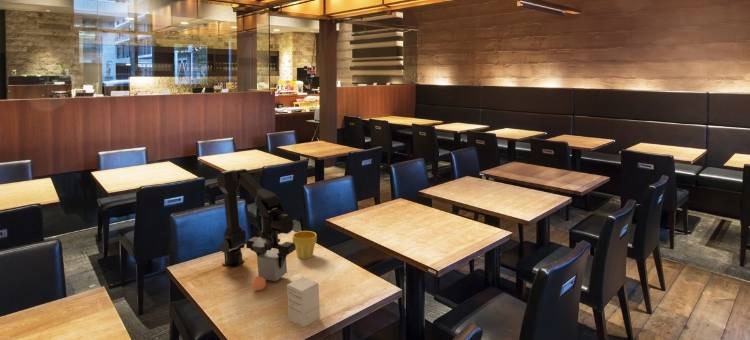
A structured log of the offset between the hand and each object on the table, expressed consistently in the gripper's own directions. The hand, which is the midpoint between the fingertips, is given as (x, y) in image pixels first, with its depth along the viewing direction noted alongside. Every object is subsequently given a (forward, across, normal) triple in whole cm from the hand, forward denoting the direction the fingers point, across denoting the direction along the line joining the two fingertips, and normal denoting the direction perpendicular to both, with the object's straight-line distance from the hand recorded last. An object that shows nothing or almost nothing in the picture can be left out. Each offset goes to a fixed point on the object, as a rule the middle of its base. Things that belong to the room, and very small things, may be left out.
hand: (271, 266), depth 177 cm
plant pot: (+6, 0, +25) cm, 26 cm away
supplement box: (+6, +26, -21) cm, 34 cm away
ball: (+3, 0, -9) cm, 9 cm away
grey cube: (+4, 0, 0) cm, 4 cm away
